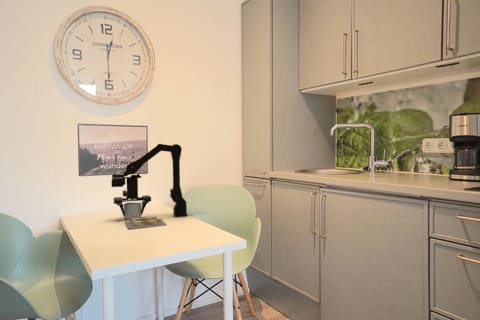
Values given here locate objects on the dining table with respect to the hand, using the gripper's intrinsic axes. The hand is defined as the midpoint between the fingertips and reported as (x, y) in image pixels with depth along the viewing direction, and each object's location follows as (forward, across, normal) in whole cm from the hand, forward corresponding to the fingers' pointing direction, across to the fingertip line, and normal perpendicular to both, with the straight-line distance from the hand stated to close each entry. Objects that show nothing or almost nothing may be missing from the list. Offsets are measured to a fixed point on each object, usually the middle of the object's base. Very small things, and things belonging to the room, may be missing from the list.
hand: (132, 215), depth 175 cm
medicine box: (+2, 0, 0) cm, 2 cm away
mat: (+2, -4, +16) cm, 17 cm away
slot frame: (+2, -4, +16) cm, 17 cm away
